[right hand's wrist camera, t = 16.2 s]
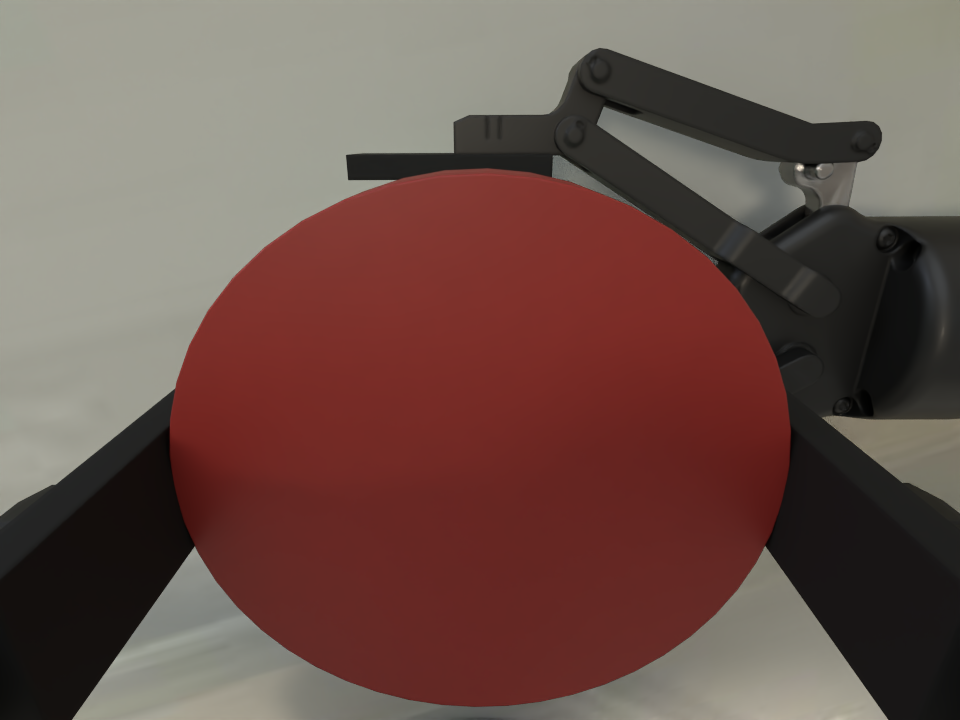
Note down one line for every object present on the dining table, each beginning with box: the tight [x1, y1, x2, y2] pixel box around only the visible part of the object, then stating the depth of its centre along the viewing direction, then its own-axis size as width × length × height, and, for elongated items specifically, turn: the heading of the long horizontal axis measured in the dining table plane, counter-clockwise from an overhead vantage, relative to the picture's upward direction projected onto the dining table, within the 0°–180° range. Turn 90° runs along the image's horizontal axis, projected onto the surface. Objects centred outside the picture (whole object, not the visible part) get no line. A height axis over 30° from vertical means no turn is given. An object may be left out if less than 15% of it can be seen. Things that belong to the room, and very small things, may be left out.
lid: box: [170, 168, 791, 707], centre depth 11 cm, size 12×12×2 cm
